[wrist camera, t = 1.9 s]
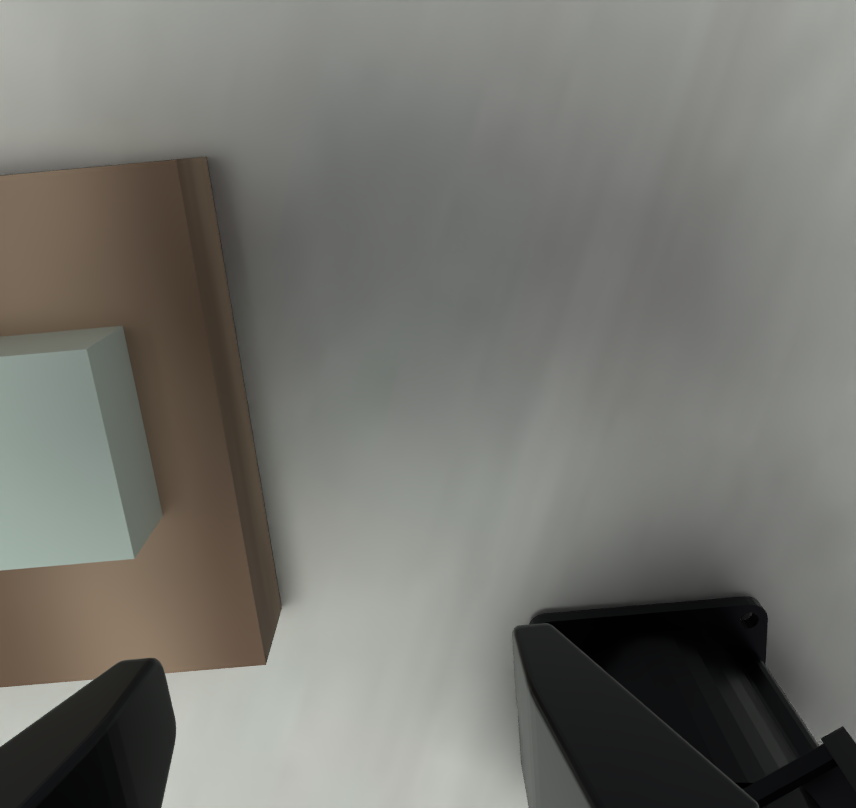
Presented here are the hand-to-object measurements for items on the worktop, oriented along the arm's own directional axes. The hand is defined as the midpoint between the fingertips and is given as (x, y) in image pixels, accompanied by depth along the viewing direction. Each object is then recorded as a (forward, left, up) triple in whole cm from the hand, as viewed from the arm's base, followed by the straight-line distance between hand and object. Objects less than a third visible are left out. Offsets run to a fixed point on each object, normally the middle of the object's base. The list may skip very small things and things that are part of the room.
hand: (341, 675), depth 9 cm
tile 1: (+7, 0, -10) cm, 12 cm away
